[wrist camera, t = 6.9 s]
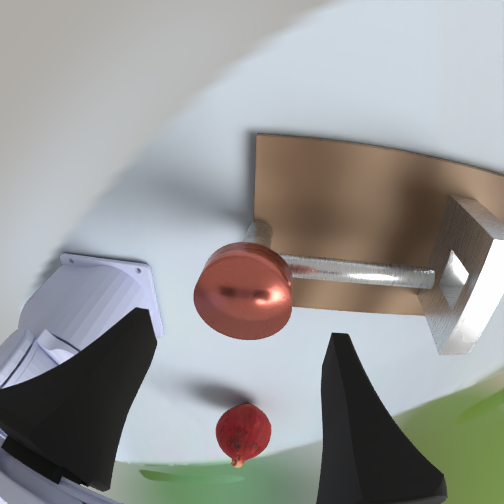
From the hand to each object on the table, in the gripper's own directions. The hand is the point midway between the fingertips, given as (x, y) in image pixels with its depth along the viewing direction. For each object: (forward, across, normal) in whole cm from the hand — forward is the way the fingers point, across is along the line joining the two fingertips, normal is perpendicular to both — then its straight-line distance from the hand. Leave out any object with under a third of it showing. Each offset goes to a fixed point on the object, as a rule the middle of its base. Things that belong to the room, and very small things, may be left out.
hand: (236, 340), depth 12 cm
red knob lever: (+9, -4, 0) cm, 10 cm away
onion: (+10, +1, +22) cm, 24 cm away
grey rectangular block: (+10, -13, 0) cm, 16 cm away
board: (+10, -9, 0) cm, 14 cm away
